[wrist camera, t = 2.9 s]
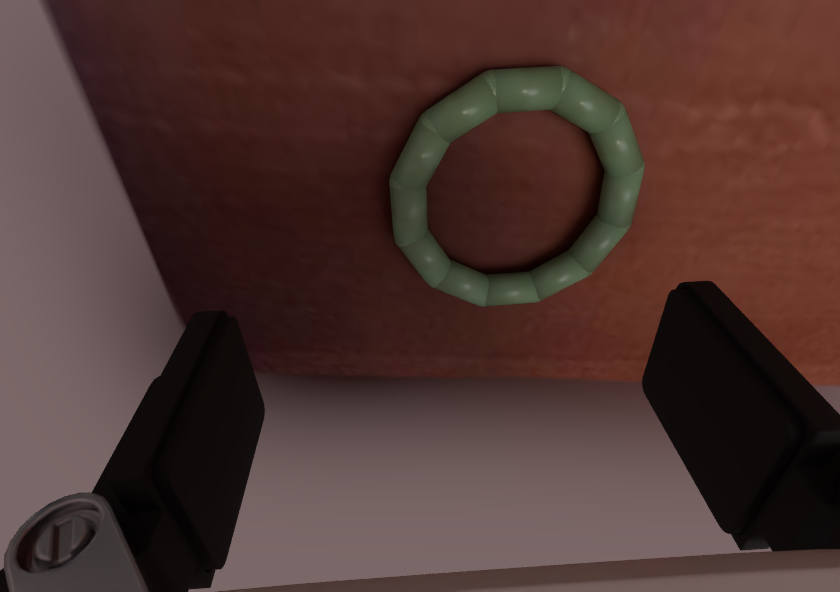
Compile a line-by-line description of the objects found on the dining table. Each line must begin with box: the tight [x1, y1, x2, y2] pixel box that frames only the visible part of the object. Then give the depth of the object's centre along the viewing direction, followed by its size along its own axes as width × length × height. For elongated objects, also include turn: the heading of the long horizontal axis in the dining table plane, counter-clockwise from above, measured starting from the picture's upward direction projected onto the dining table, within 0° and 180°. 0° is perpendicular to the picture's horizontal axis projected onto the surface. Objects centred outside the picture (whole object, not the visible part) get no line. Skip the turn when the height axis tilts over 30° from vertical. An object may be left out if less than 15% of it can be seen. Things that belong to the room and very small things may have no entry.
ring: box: [389, 66, 645, 306], centre depth 17 cm, size 8×8×1 cm
